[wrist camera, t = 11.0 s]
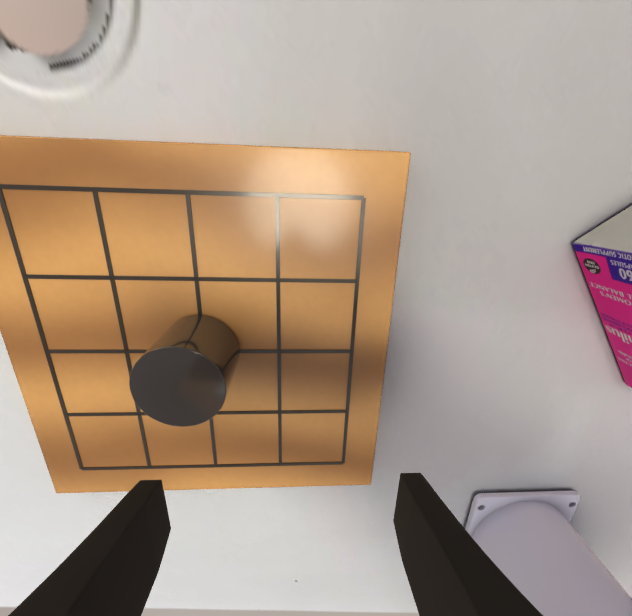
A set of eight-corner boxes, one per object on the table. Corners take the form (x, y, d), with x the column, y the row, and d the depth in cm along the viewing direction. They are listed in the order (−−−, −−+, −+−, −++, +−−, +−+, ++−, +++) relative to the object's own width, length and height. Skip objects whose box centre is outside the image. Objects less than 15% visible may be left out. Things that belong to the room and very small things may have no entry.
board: (367, 472, 22) (371, 486, 21) (67, 480, 20) (54, 495, 19) (404, 154, 15) (411, 151, 14) (-45, 136, 14) (-72, 131, 13)
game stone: (242, 381, 17) (229, 426, 14) (168, 382, 17) (137, 427, 14) (238, 314, 16) (222, 346, 13) (158, 314, 16) (120, 346, 12)
